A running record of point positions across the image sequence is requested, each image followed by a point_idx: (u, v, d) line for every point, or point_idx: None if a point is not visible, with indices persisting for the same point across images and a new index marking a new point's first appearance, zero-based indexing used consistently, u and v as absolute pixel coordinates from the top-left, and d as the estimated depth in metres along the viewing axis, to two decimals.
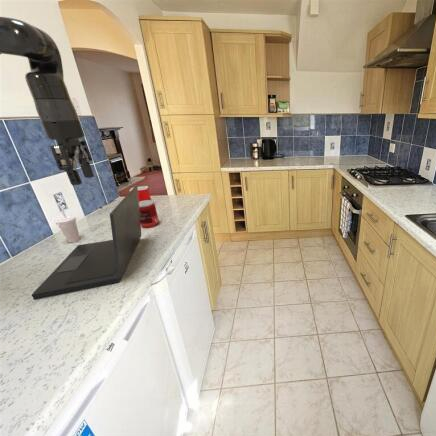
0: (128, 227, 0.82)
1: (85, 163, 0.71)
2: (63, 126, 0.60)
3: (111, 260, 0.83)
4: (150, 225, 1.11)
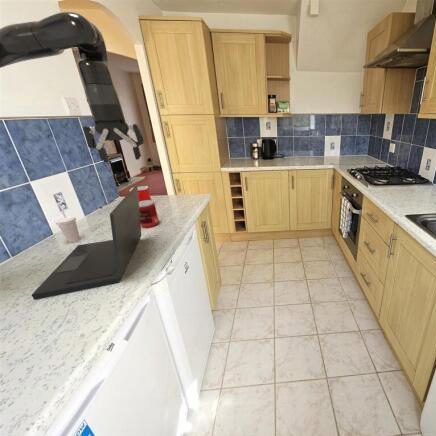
0: (128, 227, 0.82)
1: (133, 145, 0.75)
2: None
3: (111, 260, 0.83)
4: (150, 225, 1.11)
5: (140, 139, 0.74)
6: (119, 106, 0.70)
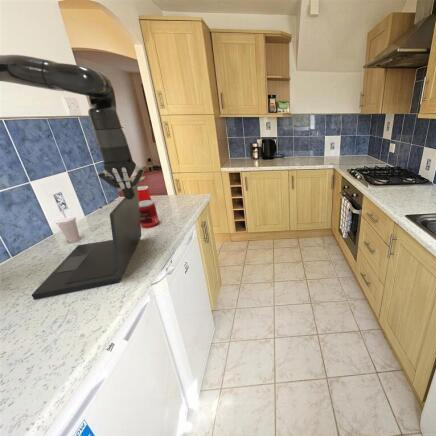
0: (128, 227, 0.82)
1: None
2: (100, 152, 0.72)
3: (111, 260, 0.83)
4: (150, 225, 1.11)
5: (136, 182, 0.78)
6: (127, 147, 0.74)
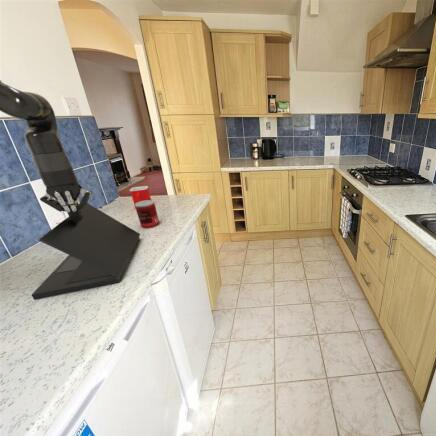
0: (97, 237, 0.80)
1: None
2: None
3: None
4: (150, 225, 1.11)
5: (82, 205, 0.76)
6: (70, 170, 0.72)
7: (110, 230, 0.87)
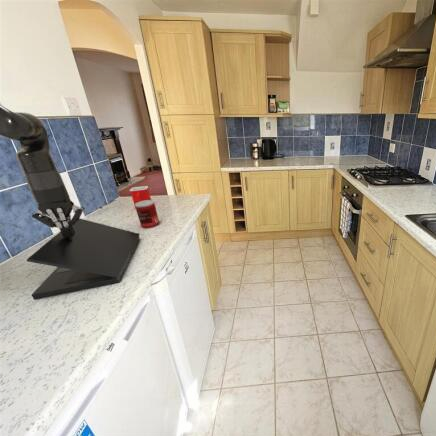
0: (91, 245, 0.80)
1: None
2: (32, 193, 0.70)
3: None
4: (150, 225, 1.11)
5: (74, 221, 0.77)
6: (62, 187, 0.73)
7: (105, 237, 0.88)
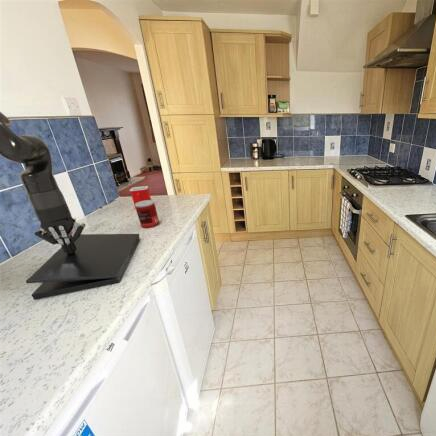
0: (89, 255, 0.81)
1: None
2: (35, 212, 0.72)
3: None
4: (150, 225, 1.11)
5: (75, 237, 0.79)
6: (63, 206, 0.75)
7: (103, 244, 0.88)
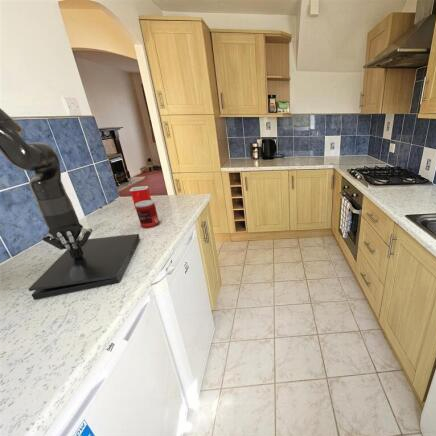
0: (89, 259, 0.82)
1: None
2: (43, 218, 0.74)
3: None
4: (150, 225, 1.11)
5: (83, 243, 0.80)
6: (71, 212, 0.76)
7: (103, 247, 0.89)
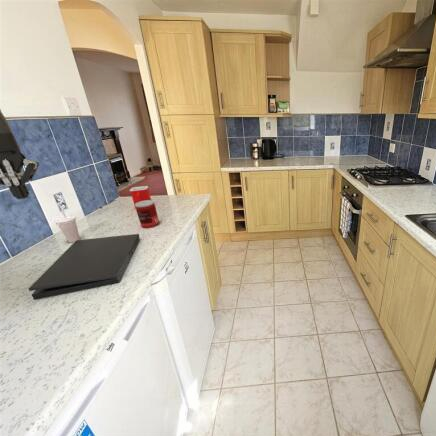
0: (89, 258, 0.82)
1: None
2: None
3: None
4: (150, 225, 1.11)
5: (26, 178, 0.65)
6: (8, 135, 0.61)
7: (103, 247, 0.89)
